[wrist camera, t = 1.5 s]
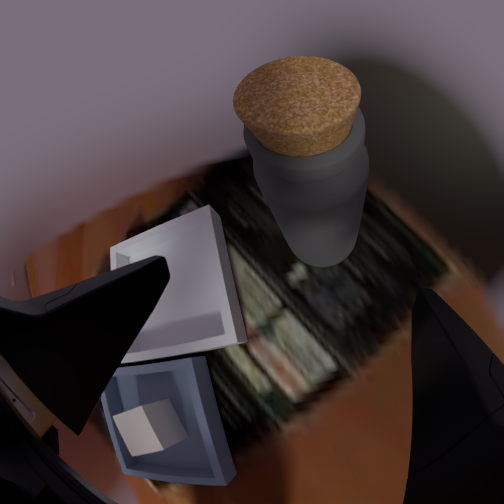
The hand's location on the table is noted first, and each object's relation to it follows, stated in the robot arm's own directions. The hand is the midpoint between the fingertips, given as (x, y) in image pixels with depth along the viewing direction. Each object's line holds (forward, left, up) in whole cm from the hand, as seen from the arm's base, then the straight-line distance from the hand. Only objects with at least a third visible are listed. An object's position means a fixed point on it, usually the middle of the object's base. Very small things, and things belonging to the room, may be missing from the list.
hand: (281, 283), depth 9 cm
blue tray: (-7, +15, -13) cm, 21 cm away
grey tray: (+5, +11, -13) cm, 18 cm away
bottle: (+6, -3, -13) cm, 14 cm away
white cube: (-7, +15, -12) cm, 21 cm away
